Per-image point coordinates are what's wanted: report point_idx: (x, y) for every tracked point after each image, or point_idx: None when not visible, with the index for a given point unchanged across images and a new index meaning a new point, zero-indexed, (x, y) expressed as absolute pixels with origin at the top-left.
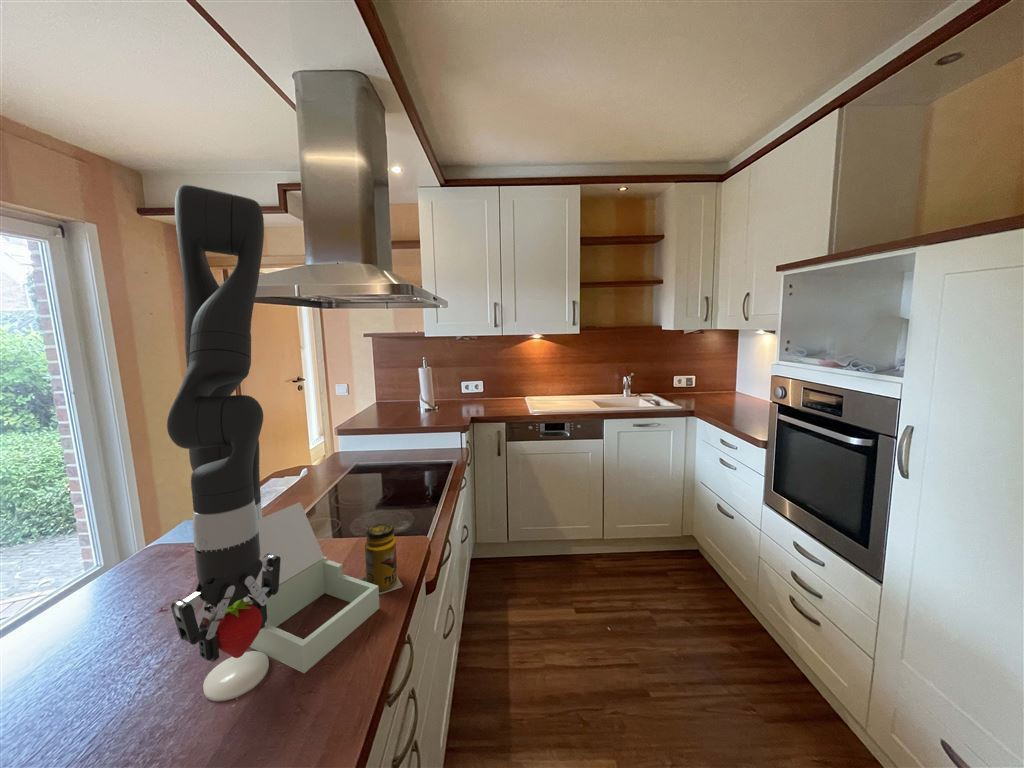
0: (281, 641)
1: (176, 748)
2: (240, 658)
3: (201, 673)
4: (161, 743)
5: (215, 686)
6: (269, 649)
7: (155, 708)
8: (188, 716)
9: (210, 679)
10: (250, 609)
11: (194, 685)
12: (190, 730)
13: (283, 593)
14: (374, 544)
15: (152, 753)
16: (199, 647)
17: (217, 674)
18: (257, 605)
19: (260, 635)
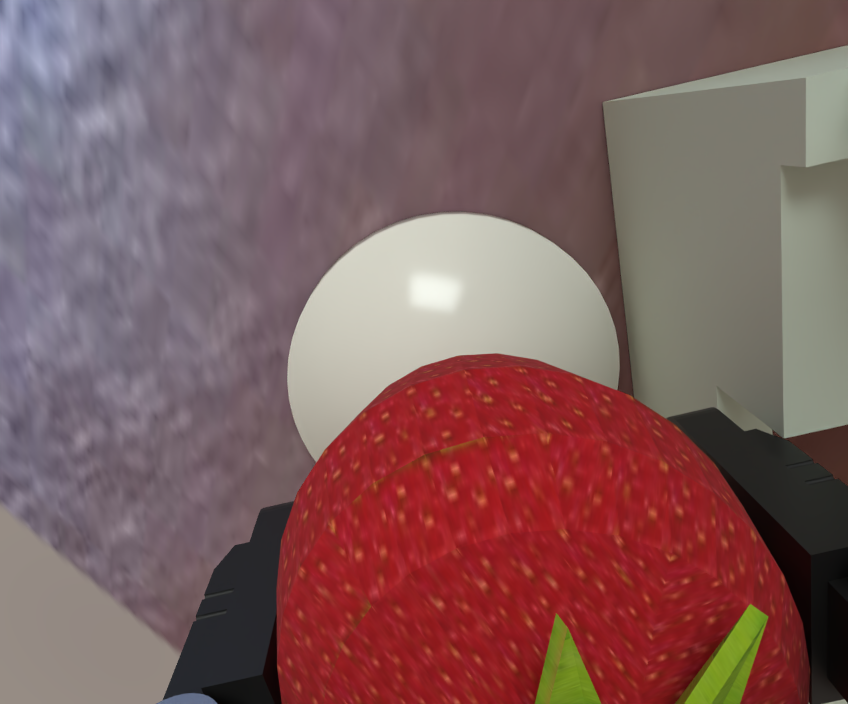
0: None
1: (141, 570)
2: (515, 281)
3: (323, 160)
4: (92, 501)
5: (338, 400)
6: (650, 379)
7: (76, 247)
8: (205, 441)
9: (334, 319)
10: None
11: (269, 237)
12: (199, 525)
13: None
14: None
15: (58, 524)
16: (190, 635)
17: (374, 313)
18: (840, 679)
19: (677, 323)
